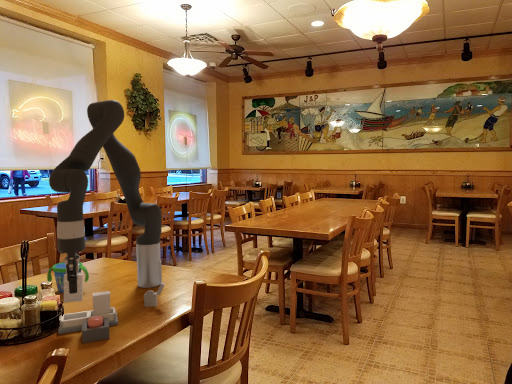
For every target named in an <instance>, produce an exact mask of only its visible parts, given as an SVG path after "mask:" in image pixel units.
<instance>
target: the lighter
mask: <svg viewBox="0 0 512 384" xmlns="http://www.w3.org/2000/svg"><path fill="white" fill-rule="evenodd" d="M165 285H166V283H165V282H163V281H162V283H161V285H159V287H158V289H157V291H156V292H154V290H153V289H152V290H147V291H146V292H144V294H143V300H144V307H147V308H149V307H158V296H161V294H162V292H163V290H164V287H165Z"/></svg>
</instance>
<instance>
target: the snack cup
mask: <svg viewBox="0 0 512 384" xmlns="http://www.w3.org/2000/svg"><path fill="white" fill-rule="evenodd" d="M82 271H83V273H84V275H85V277H84V282H85V283H87V282H88V281H89V279H90V275H89V272H88V269H87V268H86V266H84V265H83V262H80V261H79V272H78V273H82ZM52 272H53V274H54V280H55V283H56V284H55V285H56V289H57V291H58V292H59V293H64V275H65V274H66V265H65V261H63V262H58V263H56V264H54V265H52V266H51V267H50V268H49V269H48V271H47V274H46V275H47V276H46V280H47V281H48V282H52V280H53V276H52Z"/></svg>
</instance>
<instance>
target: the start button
mask: <svg viewBox="0 0 512 384" xmlns="http://www.w3.org/2000/svg"><path fill="white" fill-rule="evenodd" d="M100 326H103V317H102V316H94V317H91V318H89V319H88V328H93V327H100Z"/></svg>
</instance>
